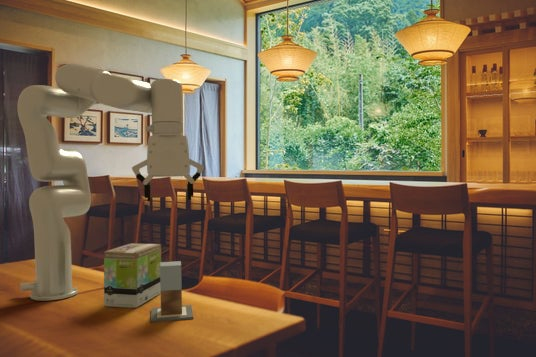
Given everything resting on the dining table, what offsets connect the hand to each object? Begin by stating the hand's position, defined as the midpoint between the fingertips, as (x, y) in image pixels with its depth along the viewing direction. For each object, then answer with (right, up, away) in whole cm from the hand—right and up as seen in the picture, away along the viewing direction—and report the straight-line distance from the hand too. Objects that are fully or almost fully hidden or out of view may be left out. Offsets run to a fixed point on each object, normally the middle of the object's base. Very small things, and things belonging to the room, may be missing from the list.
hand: (169, 200), depth 118 cm
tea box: (-13, -28, +14) cm, 34 cm away
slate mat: (0, -28, +1) cm, 28 cm away
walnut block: (0, -28, +1) cm, 28 cm away
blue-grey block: (0, -22, +1) cm, 22 cm away
